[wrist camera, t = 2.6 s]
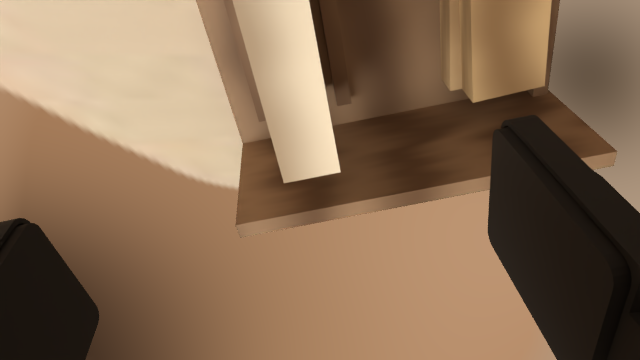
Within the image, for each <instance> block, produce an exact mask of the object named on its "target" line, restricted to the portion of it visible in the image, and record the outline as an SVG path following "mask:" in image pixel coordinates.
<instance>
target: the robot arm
mask: <svg viewBox="0 0 640 360" xmlns="http://www.w3.org/2000/svg"><path fill="white" fill-rule="evenodd" d="M488 235H489V239H490V242H491V245H492V246H493V248H494V250H495V252H496V254H497V255H498V257H499V259H500V260H501V262H502V264H503V266H504V268H505V269H506V271H507V273H508V274H509V276H510V278H511V280H512V282H513V283H514V285H515V287H516V289H517V290H518V292H519V294H520V295H521V297H522V299H523V301H524V303H525V304H526V306H527V308H528V310H529V311H530V313H531V315H532V317H533V318H534V320H535V322H536V324H537V325H538V327H539V329H540V330H541V332H542V334H543V336H544V338H545V339H546V341H547V343H548V345H549V346H550V348H551V350H552V352H553V353H554V355H555V357H556V359H557V360H640V213H639V212H638V211H637V210H636V209H635V208H634V207H633V206H631V204H630V203H629V202H628V201H626V200H625V199H624V198H623V197H622V196H621V195H620V194H619V193H618V192H617V191H616V190H615V189H614V188H613V187H612V186H611V185H610V184H609V183H608V182H607V181H606V180H605V179H604V178H603V177H601V176H600V175H599V174H597V173H596V172H594V171H593V170H592V169H591V168H590V167H589V166H588V165H587V164H586V163H585V162H584V161H583V160H582V159H581V158H580V157H579V156H578V155H577V154H576V153H575V152H574V151H573V150H572V149H571V148H570V147H569V146H568V145H566V144H565V143H564V142H563V141H562V140H561V139H560V138H559V137H558V136H557V135H556V134H555V133H554V132H553V131H552V130H551V129H550V128H549V127H548V126H547V125H546V124H545V123H544V122H543V121H542V120H541V119H540V118H539V117H538V116H536V115H528V116H523V117H518V118H513V119H508V120H505V121H503V123H502V125H501V129H496V130H495V131H494V132H493V138H492V158H491V177H490V196H489V217H488ZM98 321H99V311H98V308H97V306H96V305H95V303H94V302H93V300H92V299H91V298H90V296H89V295H88V293H87V292H86V291H85V289H84V288H83V287H82V285H81V284H80V282H79V281H78V279H77V278H76V277H75V275H74V274H73V273H72V271H71V270H70V269H69V267H68V266H67V264H66V263H65V262H64V260H63V259H62V257H61V256H60V255H59V253H58V252H57V251H56V249H55V248H54V246H53V245H52V244H51V242H50V241H49V239H48V238H47V237H46V236H45V234H44V232H43V231H42V230H41V228H40V227H39V226H38V225H36V224H34V223H30V222H29V221H28V220H26V219H22V218H18V219H13V220H8V221H3V222H0V360H85V359H86V356H87V353H88V350H89V347H90V345H91V342H92V339H93V336H94V333H95V331H96V328H97V325H98Z"/></svg>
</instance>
